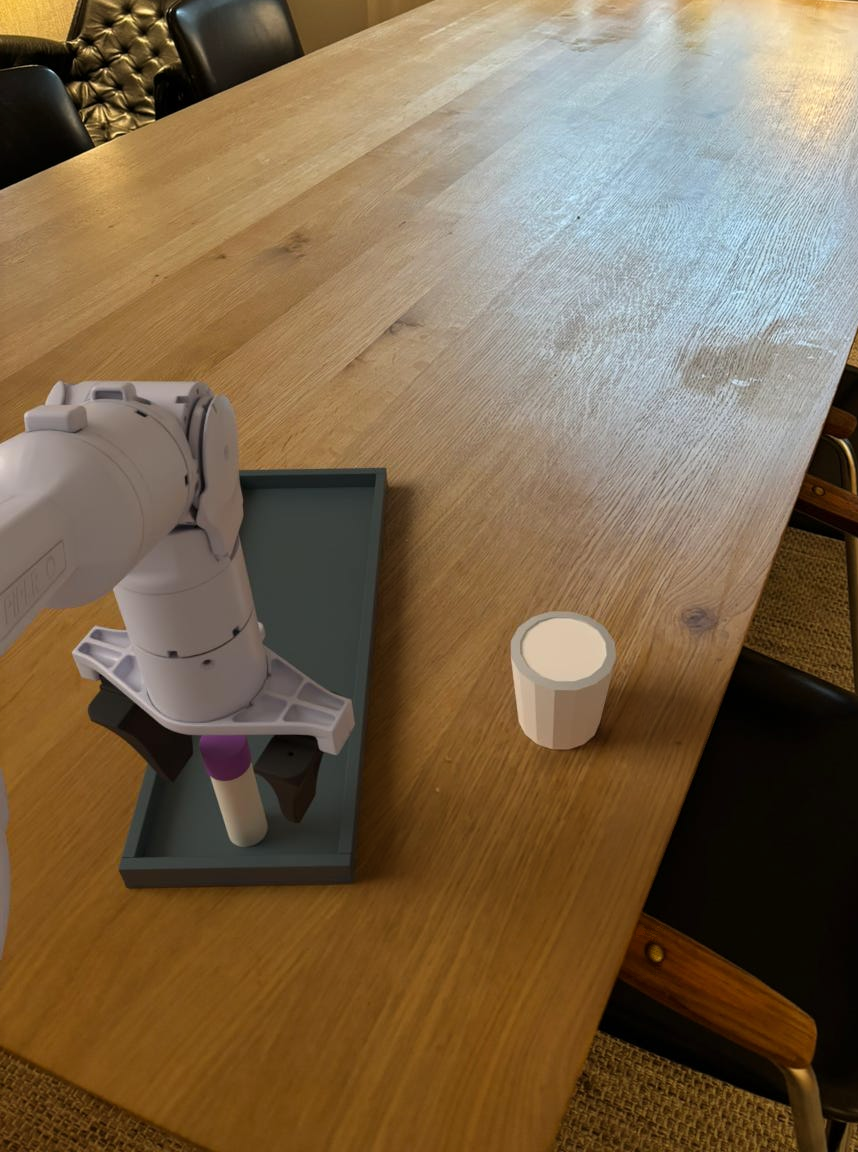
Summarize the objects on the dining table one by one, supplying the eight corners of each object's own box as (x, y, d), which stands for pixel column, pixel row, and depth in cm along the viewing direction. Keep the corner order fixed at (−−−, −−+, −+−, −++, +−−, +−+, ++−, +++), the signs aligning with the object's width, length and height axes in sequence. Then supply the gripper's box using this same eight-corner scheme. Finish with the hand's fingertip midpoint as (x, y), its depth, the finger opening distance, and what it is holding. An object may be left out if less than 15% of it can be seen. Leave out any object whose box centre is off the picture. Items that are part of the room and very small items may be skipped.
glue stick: (256, 854, 62) (231, 765, 56) (218, 841, 63) (190, 752, 57) (276, 818, 64) (254, 729, 58) (240, 806, 65) (214, 717, 59)
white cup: (489, 726, 70) (489, 658, 65) (543, 663, 74) (546, 595, 70) (576, 774, 67) (582, 706, 62) (626, 705, 71) (635, 637, 67)
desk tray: (353, 884, 61) (350, 865, 60) (125, 888, 61) (117, 869, 60) (387, 486, 90) (386, 467, 88) (232, 488, 90) (228, 470, 88)
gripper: (371, 590, 48) (390, 765, 57) (109, 523, 52) (165, 696, 61) (300, 703, 43) (334, 876, 52) (16, 619, 47) (92, 793, 55)
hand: (238, 786), depth 56 cm, fingers open, 7 cm apart
